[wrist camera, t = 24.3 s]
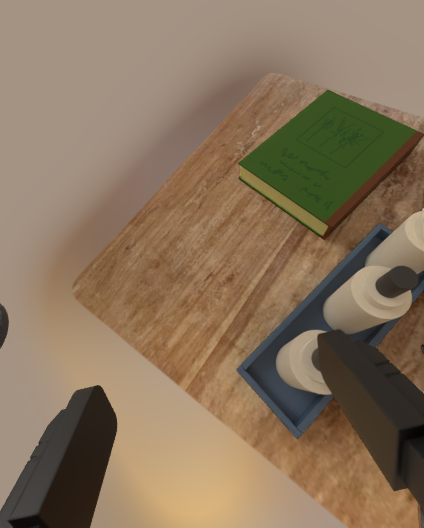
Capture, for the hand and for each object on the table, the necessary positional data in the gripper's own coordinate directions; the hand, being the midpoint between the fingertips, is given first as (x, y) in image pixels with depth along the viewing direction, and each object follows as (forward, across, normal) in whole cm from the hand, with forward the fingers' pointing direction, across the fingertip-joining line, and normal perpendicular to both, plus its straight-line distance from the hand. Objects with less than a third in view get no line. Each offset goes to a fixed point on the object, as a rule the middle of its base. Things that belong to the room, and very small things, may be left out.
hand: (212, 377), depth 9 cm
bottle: (+18, -9, +19) cm, 27 cm away
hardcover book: (+40, -25, -3) cm, 47 cm away
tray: (+21, -16, +16) cm, 31 cm away
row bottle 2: (+21, -17, +15) cm, 31 cm away
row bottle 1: (+24, -25, +12) cm, 37 cm away
